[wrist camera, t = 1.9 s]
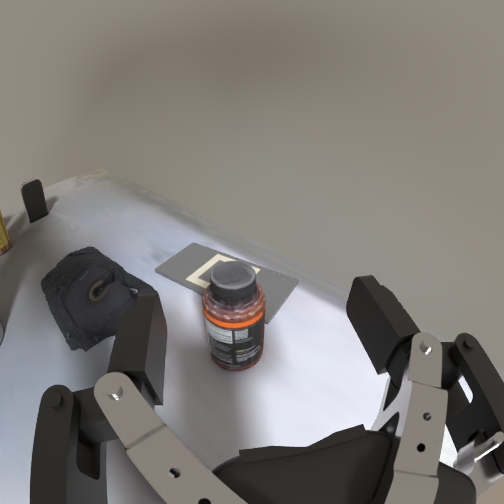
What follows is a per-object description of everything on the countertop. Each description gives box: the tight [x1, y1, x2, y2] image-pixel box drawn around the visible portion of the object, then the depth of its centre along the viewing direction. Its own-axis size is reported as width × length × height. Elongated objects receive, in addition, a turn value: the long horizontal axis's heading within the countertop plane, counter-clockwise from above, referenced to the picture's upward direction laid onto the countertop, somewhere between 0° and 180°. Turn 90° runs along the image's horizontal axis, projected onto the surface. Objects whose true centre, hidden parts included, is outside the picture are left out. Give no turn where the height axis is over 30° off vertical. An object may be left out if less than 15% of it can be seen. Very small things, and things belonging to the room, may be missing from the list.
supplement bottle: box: [202, 261, 266, 371], centre depth 27 cm, size 6×6×11 cm
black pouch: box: [41, 247, 158, 352], centre depth 36 cm, size 15×22×5 cm
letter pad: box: [155, 242, 299, 324], centre depth 41 cm, size 20×10×1 cm, turn 59°
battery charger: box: [20, 178, 48, 223], centre depth 58 cm, size 7×4×11 cm, turn 145°
